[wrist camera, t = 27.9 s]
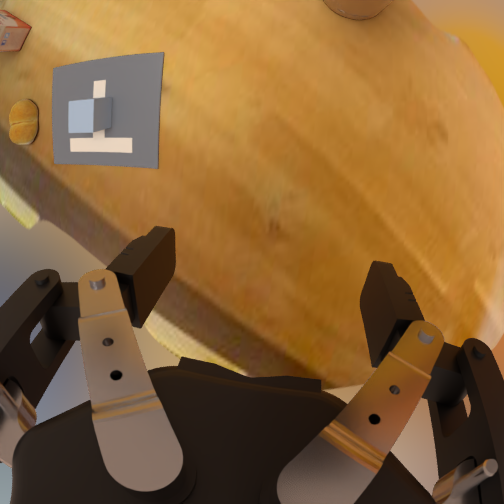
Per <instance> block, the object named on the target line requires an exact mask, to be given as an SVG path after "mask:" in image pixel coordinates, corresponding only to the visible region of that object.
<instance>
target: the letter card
mask: <svg viewBox="0 0 504 504" xmlns="http://www.w3.org/2000/svg"><path fill="white" fill-rule="evenodd" d="M163 61H164V52H161V53H147V54H135V55H126V56H118V57H110V58H103V59H97V60H91V61H85V62H80V63H75V64H70V65H65V66H61V67H56V68H53V87H52V130H53V151H54V164H83V165H108V166H126V167H142V168H155V169H158V155H159V121H160V101H161V86H162V73H163ZM101 97H112V117H111V128H107V129H104V130H100V131H97V132H94V133H69V128H68V112H69V101H74V100H80V99H88V98H101Z"/></svg>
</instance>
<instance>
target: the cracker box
mask: <svg viewBox="0 0 504 504" xmlns="http://www.w3.org/2000/svg"><path fill="white" fill-rule="evenodd" d="M30 28H31V27H30V26H29V25H27V24H26V23H24V22H23V21H21V20H19V19H18V18H16V17H15V16H13V15H12V14H10V13H8V12H7V11H5V10H0V52H5V51H19V50H20V48H21V46H22V44H23V42H24V40H25V38H26V36H27V34H28V32H29V30H30Z"/></svg>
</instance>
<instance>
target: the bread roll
mask: <svg viewBox="0 0 504 504" xmlns="http://www.w3.org/2000/svg"><path fill="white" fill-rule="evenodd" d="M9 123H10V125H11V128H10V132H9V136H10V139H11V140H12V141H13V142H14V143H16V144H30V143H32V142H33V140H34V138H35V136H36V134H37V131H38V109H37V106H36V105H35V104H34V103H33V102H32V101H30V100H29V99H23V100H20V101H18V102H17V103H16V104H15V105H14V106H13V107H12V109H11V112H10V115H9Z"/></svg>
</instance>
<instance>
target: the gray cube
mask: <svg viewBox="0 0 504 504" xmlns="http://www.w3.org/2000/svg"><path fill="white" fill-rule="evenodd" d="M111 117H112V97H101V98H88V99H80V100H74V101H69V112H68V128H69V133H94V132H97V131H100V130H104V129H107V128H111Z"/></svg>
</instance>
